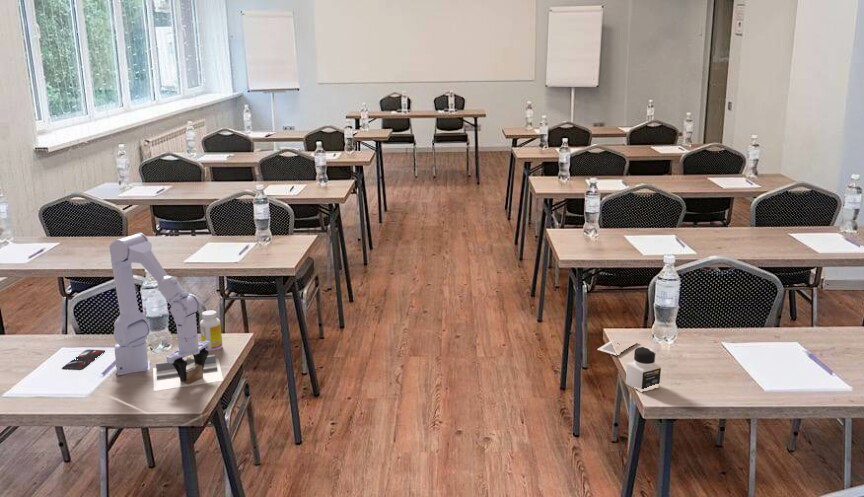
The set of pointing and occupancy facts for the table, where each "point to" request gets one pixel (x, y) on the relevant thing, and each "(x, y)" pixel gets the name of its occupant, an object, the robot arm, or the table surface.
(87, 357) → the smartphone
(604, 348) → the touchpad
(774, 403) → the table surface
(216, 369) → the wall board
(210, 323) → the supplement bottle
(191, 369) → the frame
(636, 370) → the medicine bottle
